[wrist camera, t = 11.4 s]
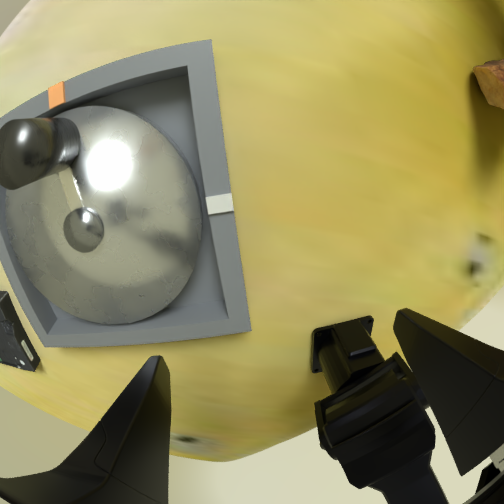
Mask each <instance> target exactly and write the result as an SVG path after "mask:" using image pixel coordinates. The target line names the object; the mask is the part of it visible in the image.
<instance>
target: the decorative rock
mask: <svg viewBox="0 0 504 504" xmlns="http://www.w3.org/2000/svg"><path fill="white" fill-rule="evenodd" d="M473 71H474V74H475V76H476V78H477V80H478V84H479V86H480V89H481V91H482V92H483V94H484V96H485V97H486V100H487V102H488V104H490V105H492V106H496V107H500V108H502V109H504V59H503V60H499V61H489V62H486V63H485V64H484V65H480V66H475V67H474V68H473Z"/></svg>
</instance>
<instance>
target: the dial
mask: <svg viewBox="0 0 504 504" xmlns="http://www.w3.org/2000/svg"><path fill="white" fill-rule="evenodd" d="M0 185H1V186H3V187H4V188H6V189H7V190H6V201H5V213H6V224H7V230H8V234H9V238H10V242H11V245H12V248H13V250H14V253H15V255H16V258H17V260H18V262H19V264H20V266H21V267H22V269H23V271H24V272H25V274H26V275H27V277H28V278H29V280H30V281H31V282H32V283H33V285H34V286H35V287H36V288H37V289H38V290H39V291H40V292H41V293H42V294H43V295H44V296H45V297H46V298H47V299H48V300H50V301H51V302H52V303H53V304H55V305H56V306H58V307H59V308H61V309H62V310H64V311H66V312H68V313H70V314H72V315H74V316H76V317H79V318H81V319H84V320H87V321H91V322H95V323H102V324H125V323H131V322H135V321H139V320H142V319H145V318H147V317H150V316H152V315H154V314H155V313H157V312H159V311H160V310H162V309H163V308H164V307H166V306H167V305H168V304H169V303H171V302H172V301H173V300H174V299H175V297H176V296H177V295H178V294H179V293H180V292H181V290H182V289H183V287H184V286H185V285H186V283H187V281H188V279H189V277H190V275H191V273H192V271H193V269H194V266H195V263H196V260H197V257H198V252H199V246H200V241H201V233H202V218H203V214H202V201H201V196H200V191H199V187H198V184H197V181H196V178H195V175H194V172H193V170H192V168H191V166H190V164H189V162H188V160H187V158H186V156H185V155H184V154H183V152H182V151H181V149H180V148H179V146H178V145H177V144H176V143H175V141H174V140H173V139H172V138H171V137H170V136H169V135H168V134H167V133H166V132H165V131H164V130H162V129H161V128H160V127H159V126H158V125H156V124H155V123H153V122H151V121H150V120H148V119H146V118H145V117H143V116H140V115H138V114H135V113H133V112H130V111H126V110H122V109H117V108H112V107H106V106H86V107H79V108H75V109H71V110H68V111H65V112H63V113H61V114H59V115H57V116H55V117H53V118H26V119H13V120H10V121H8V122H7V123H5V124H4V125H3V126H2V127H1V129H0Z"/></svg>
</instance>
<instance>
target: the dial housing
mask: <svg viewBox="0 0 504 504" xmlns="http://www.w3.org/2000/svg"><path fill="white" fill-rule="evenodd" d="M86 106H106V107H112V108H117V109H122V110H126V111H130V112H133V113H135V114H138V115H140V116H143V117H145V118H146V119H148V120H150V121H151V122H153V123H155V124H156V125H158V126H159V127H160V128H161V129H162V130H164V131H165V132H166V133H167V134H168V135H169V136H170V137H171V138H172V139H173V140H174V141H175V143H176V144H177V145H178V146H179V148H180V149H181V151H182V152H183V154H184V155H185V156H186V158H187V160H188V162H189V164H190V166H191V168H192V170H193V172H194V175H195V178H196V181H197V184H198V187H199V191H200V196H201V201H202V214H203V218H202V233H201V241H200V246H199V252H198V257H197V260H196V263H195V266H194V269H193V271H192V273H191V275H190V277H189V279H188V281H187V283H186V285H185V286H184V287H183V289H182V290H181V292H180V293H179V294H178V295H177V296H176V297H175V299H174V300H173V301H172V302H171V303H169V304H168V305H167V306H166V307H164V308H163V309H162V310H160V311H159V312H157V313H155V314H154V315H152V316H150V317H147V318H145V319H142V320H139V321H135V322H131V323H125V324H102V323H95V322H91V321H87V320H84V319H81V318H79V317H76V316H74V315H72V314H70V313H68V312H66V311H64V310H62V309H61V308H59V307H58V306H56V305H55V304H53V303H52V302H51V301H50V300H48V299H47V298H46V297H45V296H44V295H43V294H42V293H41V292H40V291H39V290H38V289H37V288H36V287H35V286H34V285H33V283H32V282H31V281H30V280H29V278H28V277H27V275H26V274H25V272H24V271H23V269H22V267H21V266H20V264H19V262H18V260H17V258H16V255H15V253H14V250H13V248H12V245H11V242H10V238H9V234H8V230H7V224H6V213H5V201H6V190H7V189H6V188H4V187H3V186H1V185H0V261H1V263H2V266H3V268H4V271H5V273H6V275H7V278H8V280H9V282H10V284H11V287H12V289H13V291H14V293H15V295H16V297H17V299H18V301H19V303H20V305H21V307H22V309H23V311H24V313H25V315H26V316H27V318H28V320H29V322H30V324H31V325H32V327H33V329H34V331H35V332H36V334H37V336H38V337H39V339H40V341H41V342H42V344H43V345H44V347H101V346H121V345H137V344H150V343H161V342H172V341H181V340H190V339H199V338H207V337H214V336H221V335H228V334H235V333H242V332H248V331H252V330H251V323H250V317H249V311H248V304H247V298H246V291H245V284H244V278H243V271H242V264H241V258H240V251H239V244H238V237H237V230H236V223H235V216H234V209H233V202H232V194H231V188H230V181H229V173H228V166H227V159H226V151H225V144H224V136H223V129H222V121H221V113H220V106H219V98H218V90H217V82H216V74H215V65H214V57H213V49H212V40H211V39H210V40H203V41H196V42H190V43H185V44H179V45H174V46H170V47H165V48H161V49H157V50H153V51H149V52H145V53H141V54H138V55H134V56H131V57H127V58H124V59H121V60H118V61H115V62H112V63H109V64H106V65H103V66H101V67H98V68H95V69H93V70H90V71H88V72H85V73H83V74H80V75H78V76H76V77H74V78H71V79H69V80H67V81H65V82H64V81H62V82H60V83H58V84H56V85H54V86H52V87H50V88H48V90H46V91H44V92H43V93H41V94H39V95H37V96H35V97H33V98H32V99H30V100H28V101H26V102H25V103H23V104H21V105H20V106H18V107H16V108H15V109H13V110H12V111H10V112H9V113H7V114H5V115H4V116H2V117H1V118H0V129H1V127H2V126H3V125H4V124H5V123H7V122H8V121H10V120H13V119H26V118H53V117H55V116H57V115H59V114H61V113H63V112H65V111H68V110H71V109H75V108H79V107H86Z"/></svg>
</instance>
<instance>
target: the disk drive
mask: <svg viewBox="0 0 504 504" xmlns="http://www.w3.org/2000/svg"><path fill="white" fill-rule="evenodd" d="M39 362H40V358H39V356H38V355H37V353H36V351H35V349H34V347H33V345H32V344H31V342H30V340H29V338H28V336H27V334H26V332H25V330H24V328H23V326H22V324H21V321H20V319H19V317H18V315H17V313H16V311H15V308H14V306H13V304H12V301H11V299H10V296H9V294H8V292H7V291H0V363H2V364H5V365H9V366H13V367H16V368H20V369H23V370H28V371H33V372H35V370H36V368H37V366H38V364H39Z"/></svg>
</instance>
